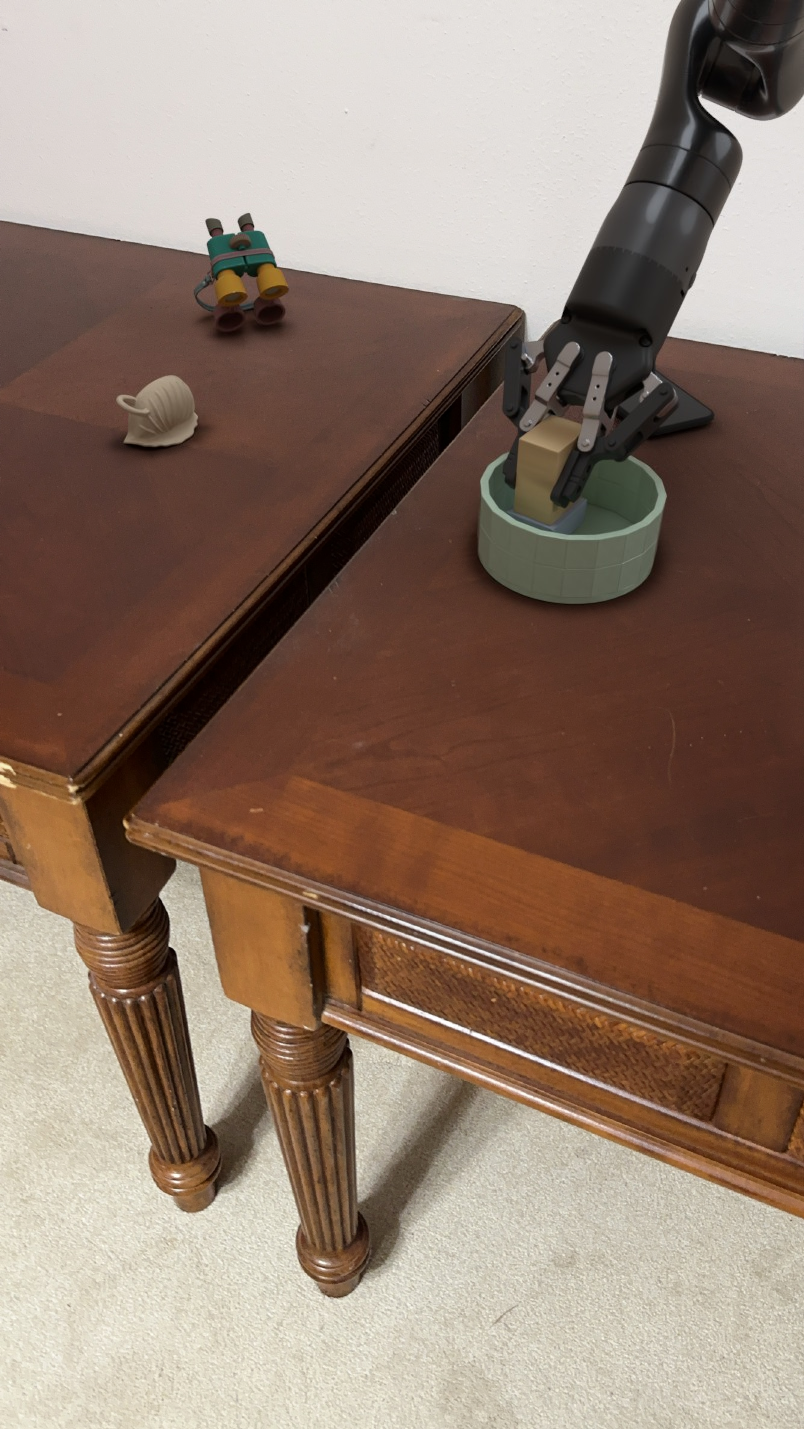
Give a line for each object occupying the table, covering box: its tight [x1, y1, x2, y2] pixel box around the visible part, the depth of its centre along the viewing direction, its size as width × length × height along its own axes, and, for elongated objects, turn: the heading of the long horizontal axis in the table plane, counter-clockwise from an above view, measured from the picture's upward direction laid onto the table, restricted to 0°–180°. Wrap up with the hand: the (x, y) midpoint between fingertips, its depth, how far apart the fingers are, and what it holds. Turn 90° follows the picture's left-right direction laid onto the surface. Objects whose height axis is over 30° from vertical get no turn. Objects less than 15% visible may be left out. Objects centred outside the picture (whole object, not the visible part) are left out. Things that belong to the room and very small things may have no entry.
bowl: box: [476, 451, 668, 605], centre depth 81 cm, size 13×13×6 cm
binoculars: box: [193, 212, 290, 333], centre depth 110 cm, size 9×9×10 cm
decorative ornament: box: [116, 374, 199, 448], centre depth 94 cm, size 4×8×5 cm, turn 140°
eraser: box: [506, 414, 587, 535], centre depth 80 cm, size 5×4×8 cm
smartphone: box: [616, 369, 715, 437], centre depth 100 cm, size 7×1×15 cm
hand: (535, 494), depth 79 cm, fingers closed on eraser, 3 cm apart
